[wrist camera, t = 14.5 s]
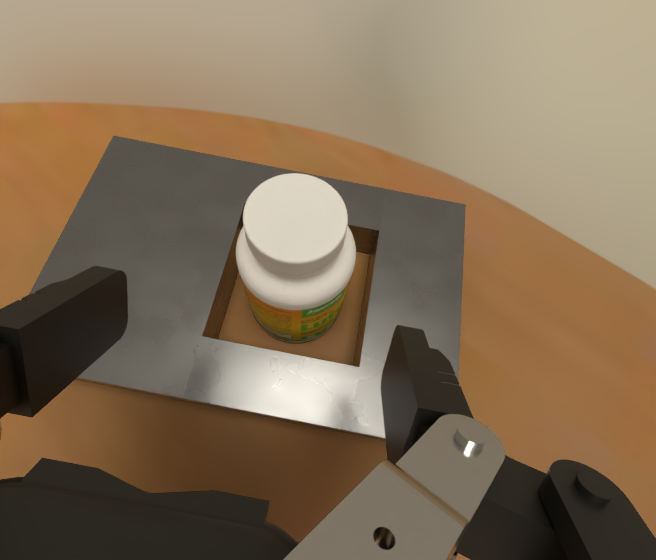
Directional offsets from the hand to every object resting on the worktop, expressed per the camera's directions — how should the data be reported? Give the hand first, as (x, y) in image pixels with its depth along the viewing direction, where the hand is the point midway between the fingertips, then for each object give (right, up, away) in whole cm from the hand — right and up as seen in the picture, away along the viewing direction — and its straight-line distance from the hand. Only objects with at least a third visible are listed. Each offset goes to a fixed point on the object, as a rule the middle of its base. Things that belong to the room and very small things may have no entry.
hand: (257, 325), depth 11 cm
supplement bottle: (0, 0, +12) cm, 12 cm away
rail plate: (-2, +1, +12) cm, 12 cm away
